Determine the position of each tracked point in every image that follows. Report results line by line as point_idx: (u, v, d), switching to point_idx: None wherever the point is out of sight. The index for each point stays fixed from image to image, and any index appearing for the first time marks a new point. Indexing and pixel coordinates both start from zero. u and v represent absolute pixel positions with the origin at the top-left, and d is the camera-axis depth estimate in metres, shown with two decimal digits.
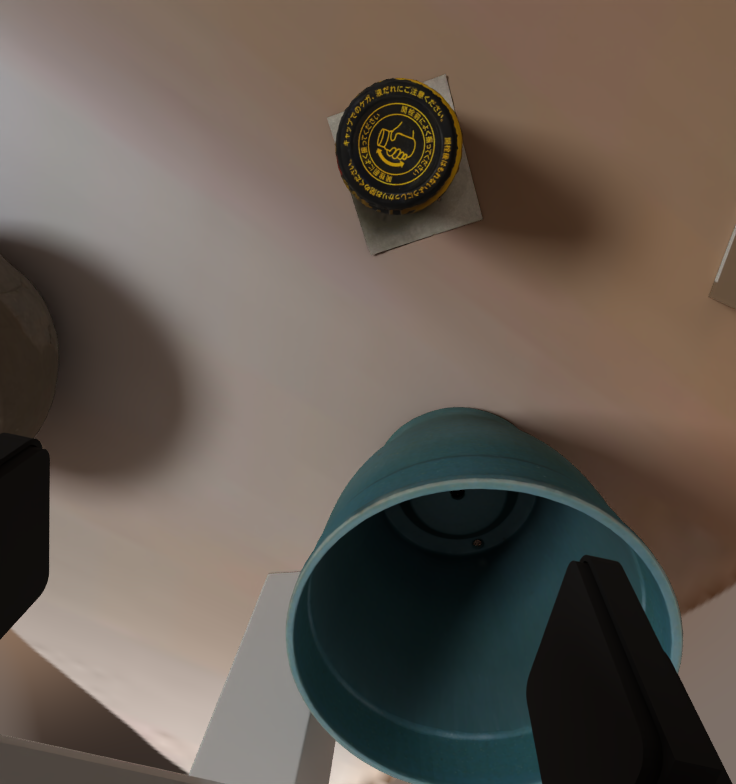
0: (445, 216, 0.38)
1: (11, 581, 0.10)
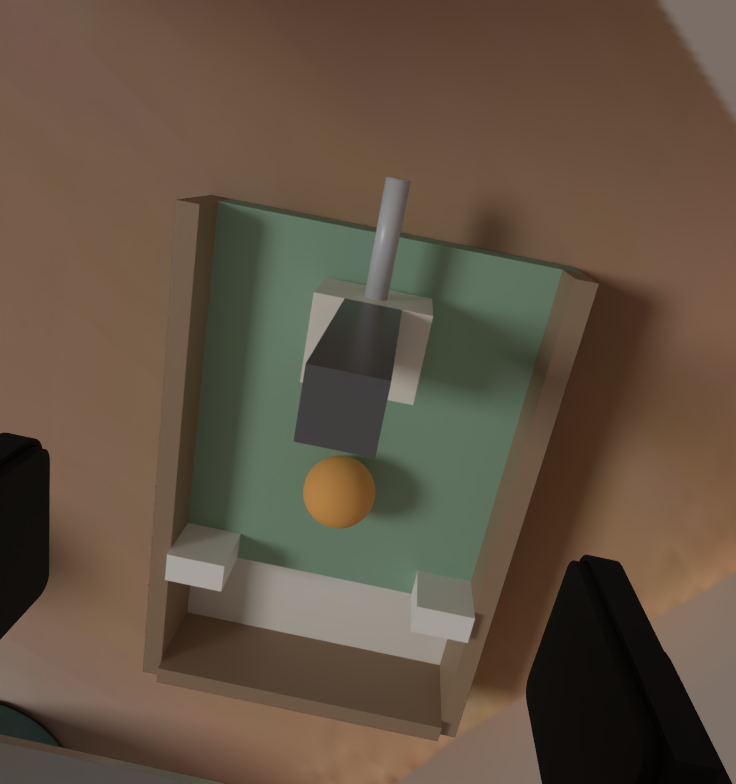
0: None
1: (11, 581, 0.10)
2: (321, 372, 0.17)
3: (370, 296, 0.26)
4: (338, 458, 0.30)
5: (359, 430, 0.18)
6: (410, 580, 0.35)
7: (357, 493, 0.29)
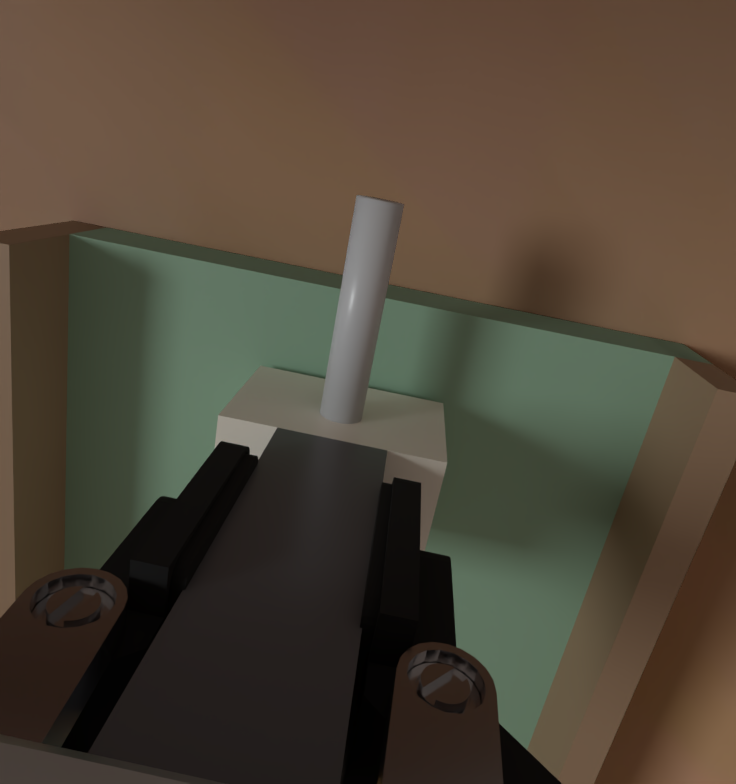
0: None
1: None
2: None
3: (328, 416, 0.14)
4: None
5: None
6: None
7: None
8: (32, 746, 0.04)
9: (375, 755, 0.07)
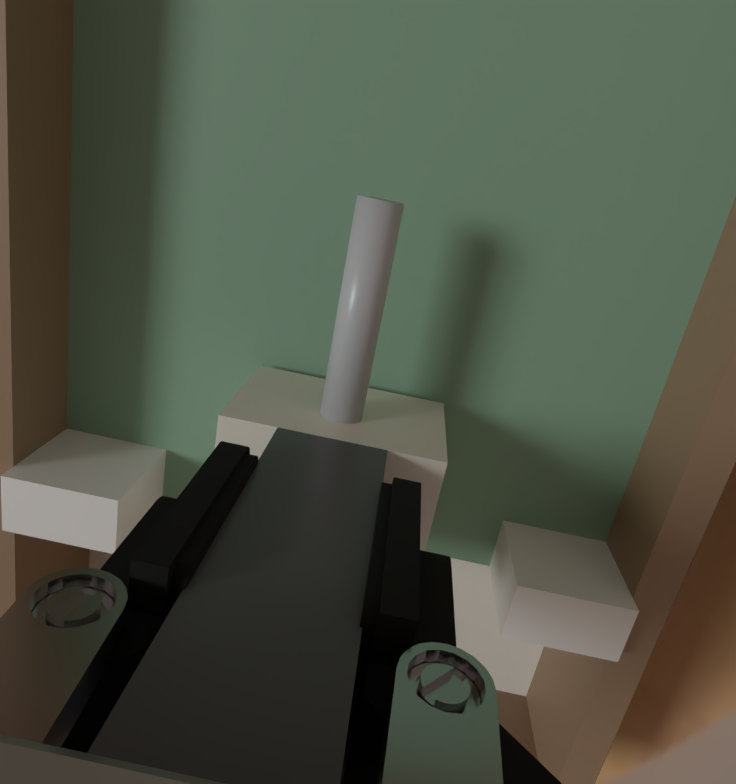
0: None
1: None
2: None
3: (328, 416, 0.14)
4: None
5: None
6: (488, 540, 0.18)
7: None
8: (32, 746, 0.04)
9: (375, 755, 0.07)
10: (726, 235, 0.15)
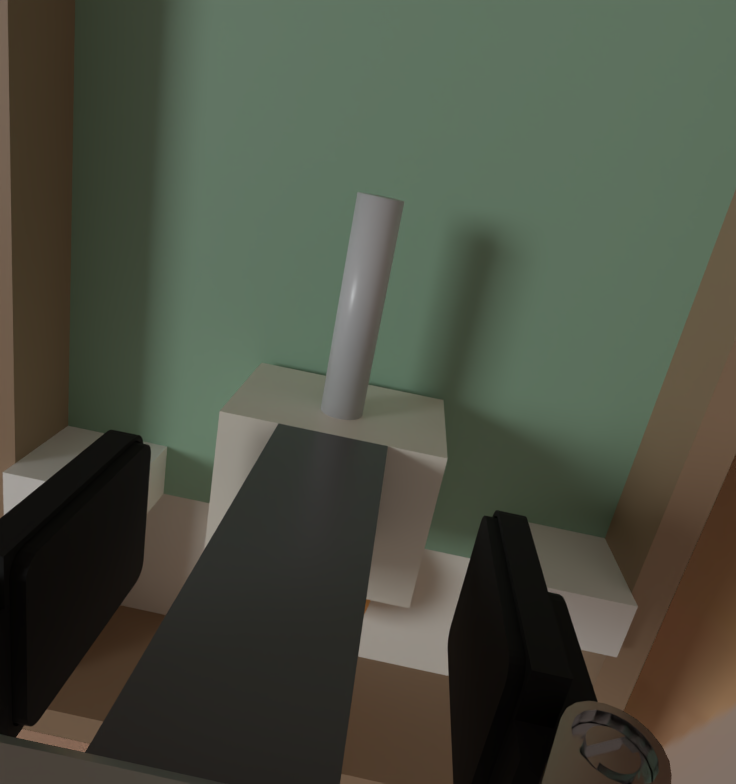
0: None
1: (119, 567, 0.11)
2: None
3: (329, 412, 0.14)
4: None
5: None
6: None
7: None
8: (31, 746, 0.04)
9: None
10: (724, 232, 0.15)
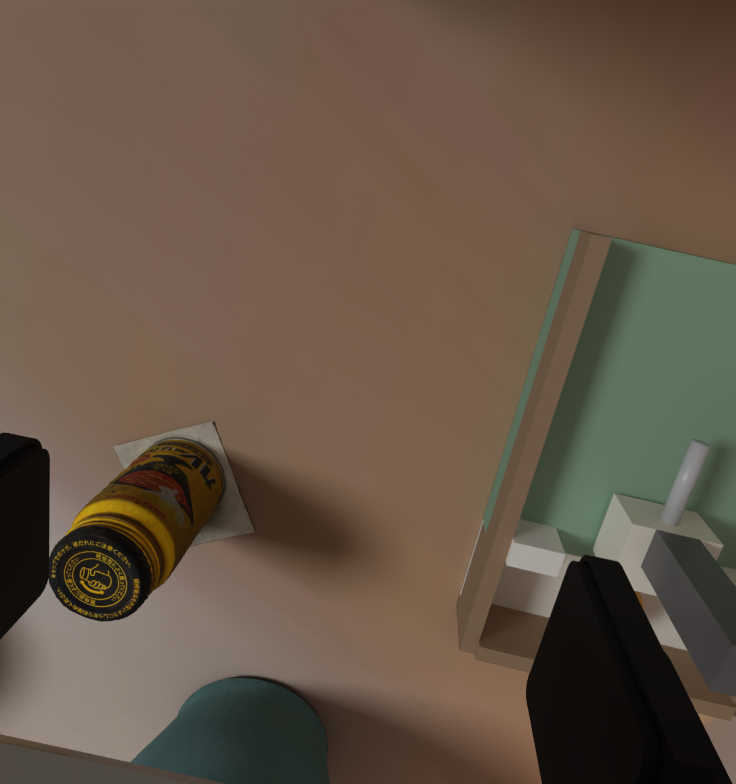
0: (222, 527, 0.43)
1: (11, 581, 0.10)
2: None
3: (667, 523, 0.35)
4: None
5: None
6: None
7: None
8: (32, 746, 0.04)
9: None
10: None
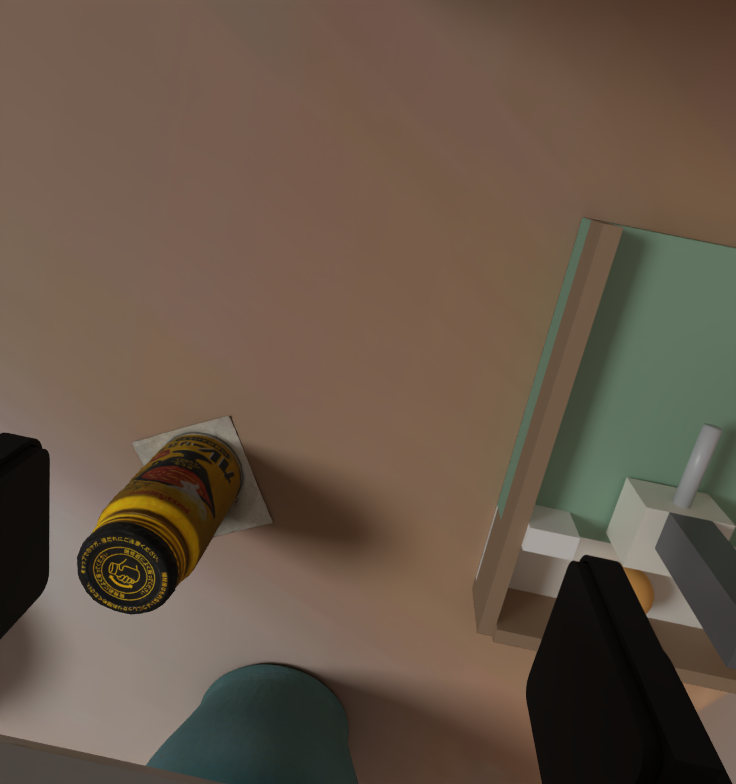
0: (240, 519, 0.44)
1: (11, 581, 0.10)
2: None
3: (680, 505, 0.35)
4: None
5: None
6: None
7: None
8: (32, 746, 0.04)
9: None
10: None
